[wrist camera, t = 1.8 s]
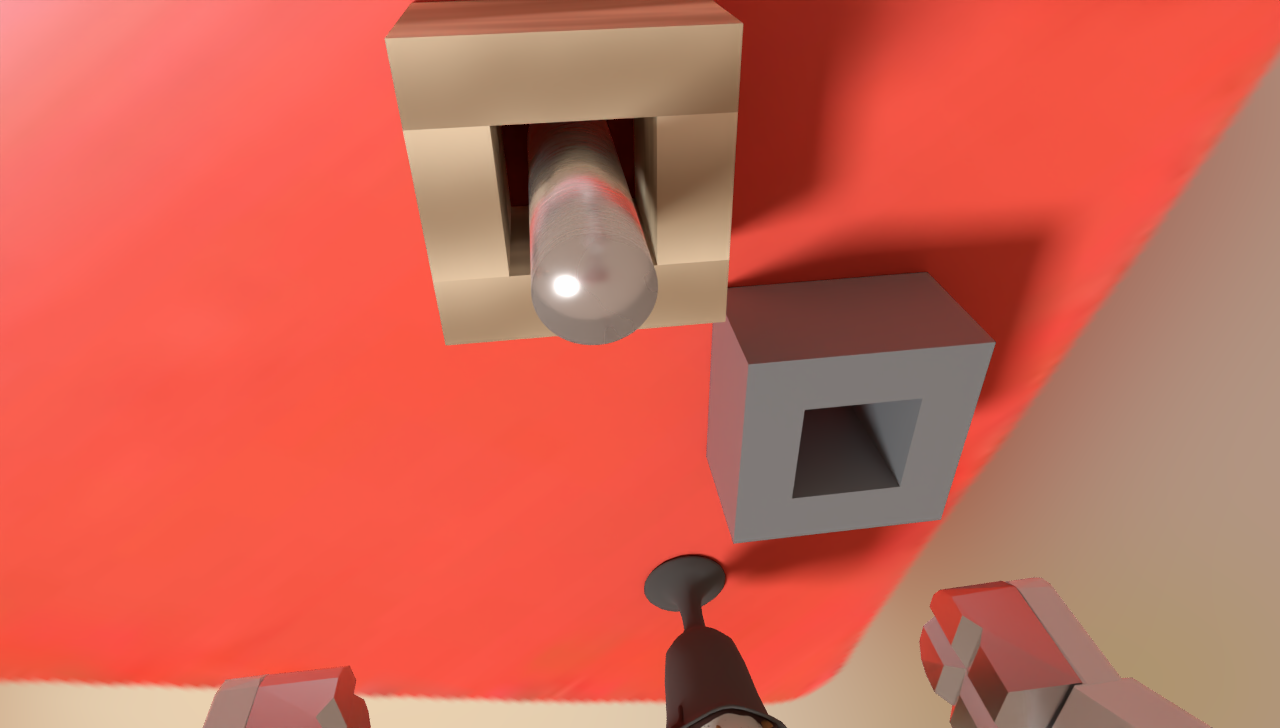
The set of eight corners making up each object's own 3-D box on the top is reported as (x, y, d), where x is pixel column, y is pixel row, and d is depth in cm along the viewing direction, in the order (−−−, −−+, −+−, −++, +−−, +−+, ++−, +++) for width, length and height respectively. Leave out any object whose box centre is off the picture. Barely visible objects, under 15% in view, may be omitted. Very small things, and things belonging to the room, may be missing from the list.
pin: (523, 100, 27) (524, 237, 17) (609, 95, 28) (658, 228, 18) (531, 183, 29) (537, 350, 19) (612, 178, 29) (658, 339, 20)
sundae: (688, 528, 41) (758, 808, 29) (759, 576, 45) (850, 846, 33) (605, 589, 44) (639, 875, 31) (680, 630, 47) (736, 904, 35)
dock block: (714, 288, 33) (748, 364, 28) (927, 271, 34) (995, 342, 29) (706, 456, 39) (733, 543, 34) (888, 437, 40) (940, 519, 35)
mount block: (411, 2, 25) (384, 38, 20) (700, -9, 26) (743, 23, 21) (457, 267, 31) (445, 345, 26) (693, 249, 32) (725, 321, 27)
